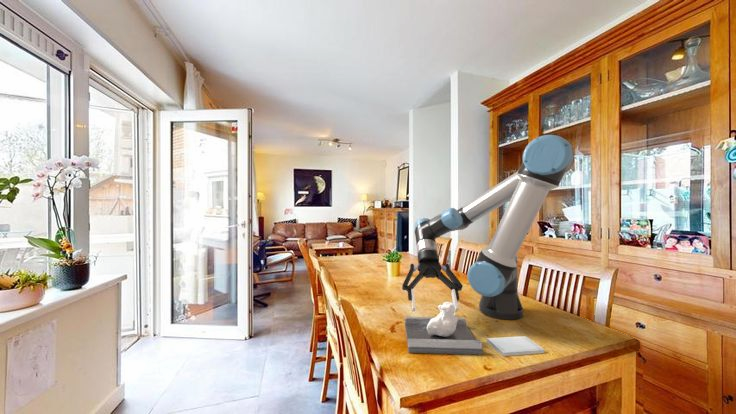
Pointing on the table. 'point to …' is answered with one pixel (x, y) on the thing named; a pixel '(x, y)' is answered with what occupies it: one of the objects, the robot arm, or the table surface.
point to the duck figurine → (443, 321)
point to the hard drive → (515, 346)
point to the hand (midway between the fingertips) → (435, 309)
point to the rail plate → (440, 338)
